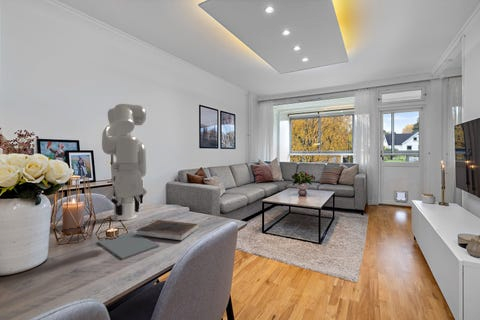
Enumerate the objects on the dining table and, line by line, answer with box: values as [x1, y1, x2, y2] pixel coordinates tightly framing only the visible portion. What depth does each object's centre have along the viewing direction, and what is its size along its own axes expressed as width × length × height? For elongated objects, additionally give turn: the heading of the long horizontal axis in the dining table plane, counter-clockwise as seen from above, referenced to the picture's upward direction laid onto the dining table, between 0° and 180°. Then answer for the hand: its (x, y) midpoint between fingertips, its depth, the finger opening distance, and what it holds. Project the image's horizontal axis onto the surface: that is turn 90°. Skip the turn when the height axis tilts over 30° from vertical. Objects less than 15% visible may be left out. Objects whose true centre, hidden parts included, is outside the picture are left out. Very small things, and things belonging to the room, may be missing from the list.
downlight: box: [117, 197, 138, 221], centre depth 88 cm, size 8×7×10 cm
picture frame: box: [135, 219, 199, 241], centre depth 102 cm, size 16×2×22 cm
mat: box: [97, 231, 160, 261], centre depth 88 cm, size 22×14×1 cm, turn 52°
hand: (127, 212), depth 88 cm, fingers closed on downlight, 5 cm apart
